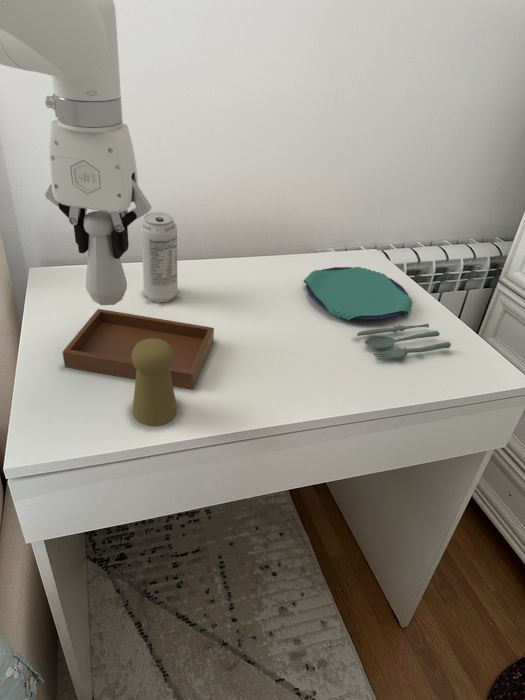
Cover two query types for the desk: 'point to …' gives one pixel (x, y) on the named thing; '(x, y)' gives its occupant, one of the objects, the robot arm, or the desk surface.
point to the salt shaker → (103, 261)
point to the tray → (122, 336)
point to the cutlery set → (366, 304)
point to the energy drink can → (159, 256)
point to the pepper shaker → (153, 383)
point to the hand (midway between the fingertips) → (103, 250)
